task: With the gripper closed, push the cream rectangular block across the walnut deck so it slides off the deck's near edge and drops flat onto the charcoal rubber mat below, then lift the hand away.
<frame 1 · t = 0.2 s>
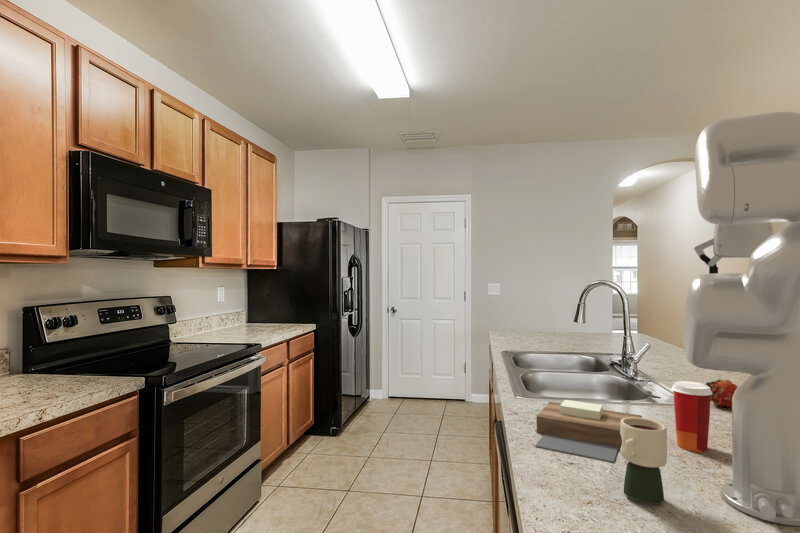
hand: (742, 284, 96), 37 cm above the countertop, tool pointing down, fingers open, 9 cm apart
deck: (589, 432, 109), on the countertop
paper cup: (691, 448, 100), on the countertop
mat: (576, 447, 100), on the countertop
cream rectangular block: (581, 413, 111), point 4 cm above the countertop, touching deck
character mug: (643, 499, 77), on the countertop
dragon fruit: (723, 406, 130), on the countertop
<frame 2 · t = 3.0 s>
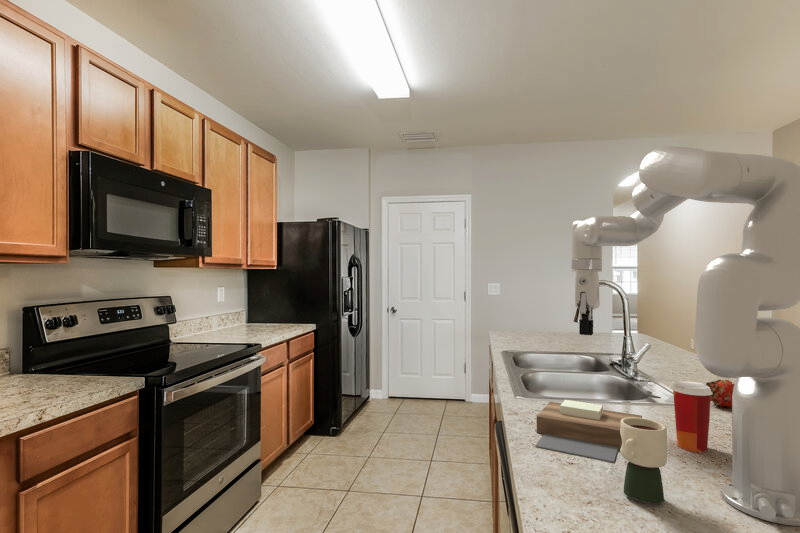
hand: (586, 334, 119), 23 cm above the countertop, tool pointing down, fingers closed
nothing on the countertop moved.
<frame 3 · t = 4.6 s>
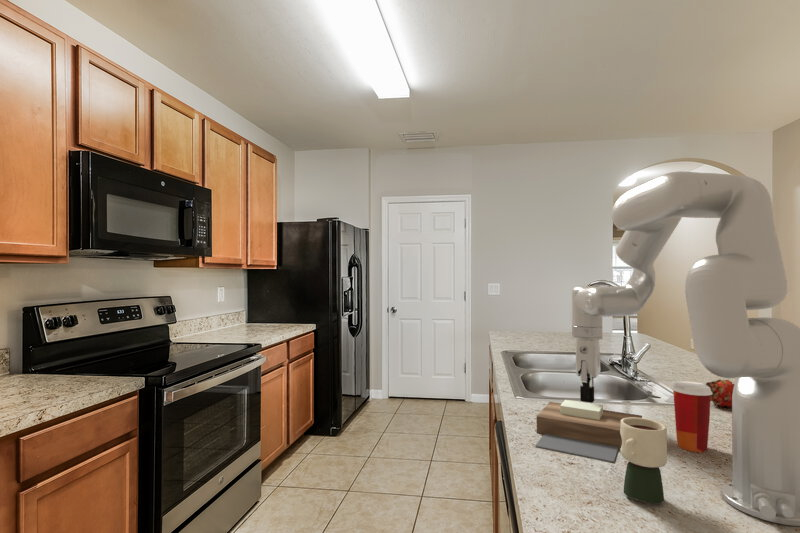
hand: (587, 401, 119), 5 cm above the countertop, tool pointing down, fingers closed
nothing on the countertop moved.
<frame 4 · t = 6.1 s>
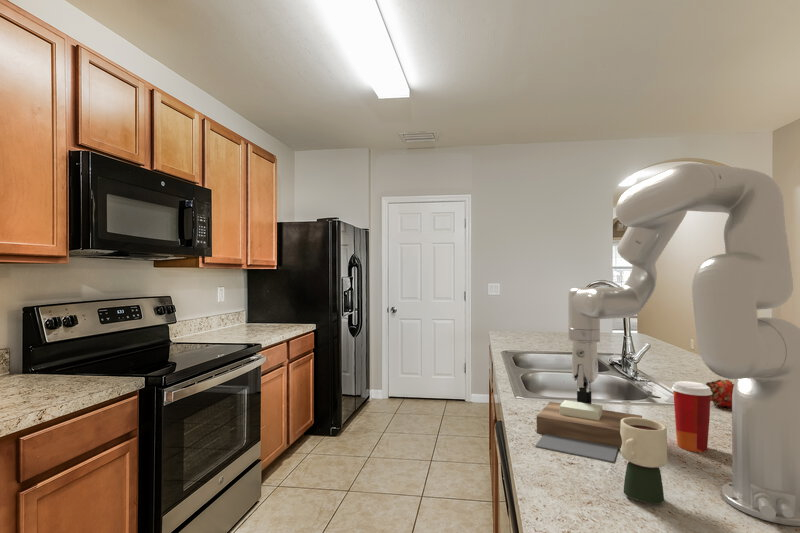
hand: (584, 406, 114), 5 cm above the countertop, tool pointing down, fingers closed
cream rectangular block: (580, 413, 111), point 4 cm above the countertop, touching gripper
everything else where it was.
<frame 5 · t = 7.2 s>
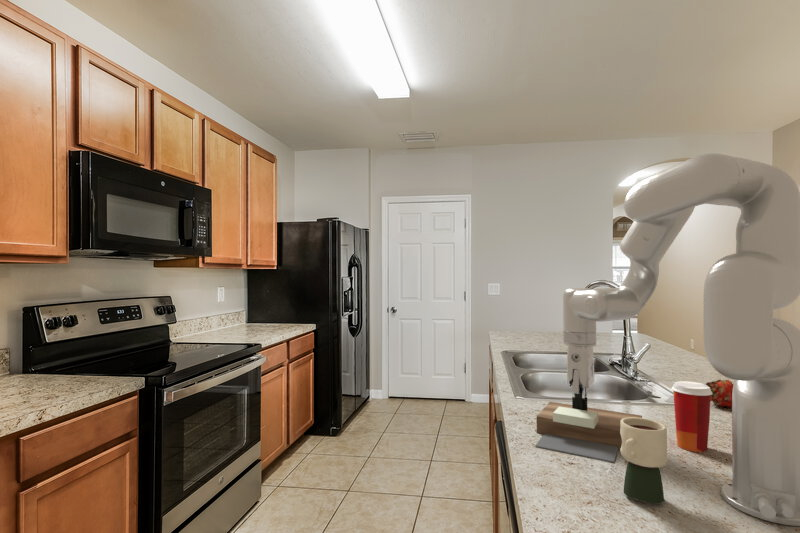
hand: (579, 413, 109), 5 cm above the countertop, tool pointing down, fingers closed
cream rectangular block: (575, 421, 105), point 4 cm above the countertop, touching gripper
everything else where it was.
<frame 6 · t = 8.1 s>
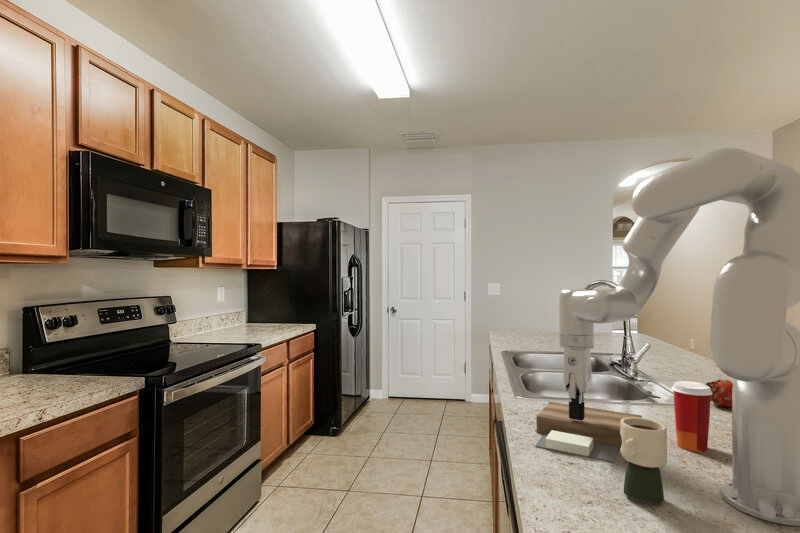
hand: (576, 418, 105), 5 cm above the countertop, tool pointing down, fingers closed
cream rectangular block: (569, 438, 99), point 2 cm above the countertop, tilted 180°, touching mat
everything else where it was.
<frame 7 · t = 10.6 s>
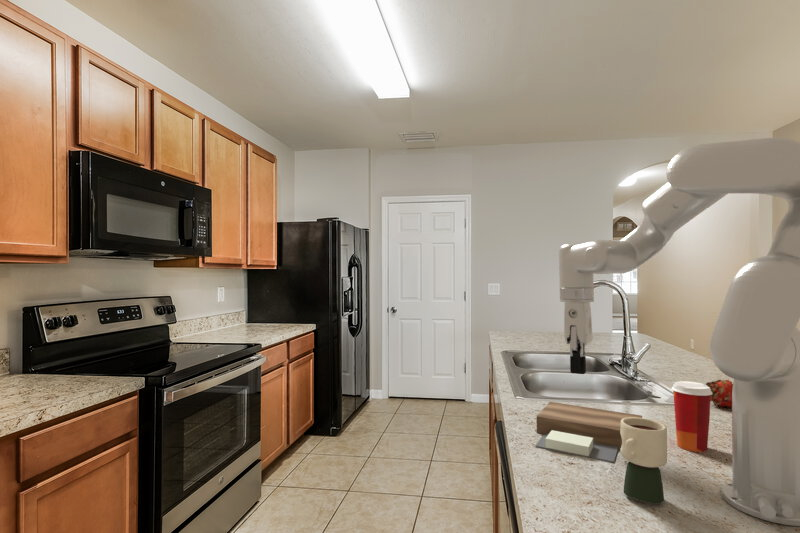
hand: (578, 372, 105), 15 cm above the countertop, tool pointing down, fingers closed
nothing on the countertop moved.
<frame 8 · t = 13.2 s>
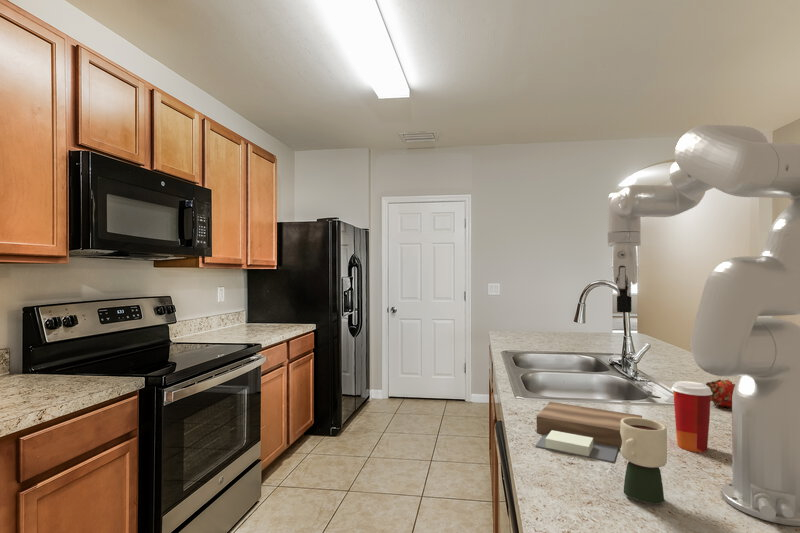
hand: (624, 311, 113), 29 cm above the countertop, tool pointing down, fingers closed
nothing on the countertop moved.
at the end: cream rectangular block point 2.3 cm above the countertop; cream rectangular block inside the target area on the mat (2.0 cm from its centre), point 2.3 cm above the mat's base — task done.
